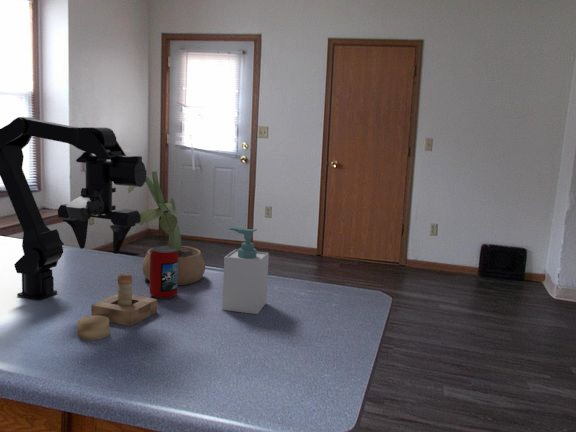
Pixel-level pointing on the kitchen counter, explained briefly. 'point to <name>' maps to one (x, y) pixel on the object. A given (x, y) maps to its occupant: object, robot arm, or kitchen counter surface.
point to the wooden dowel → (125, 290)
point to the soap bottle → (245, 277)
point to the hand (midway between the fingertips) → (98, 250)
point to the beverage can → (163, 272)
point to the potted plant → (171, 237)
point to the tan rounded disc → (93, 327)
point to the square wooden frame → (125, 309)
